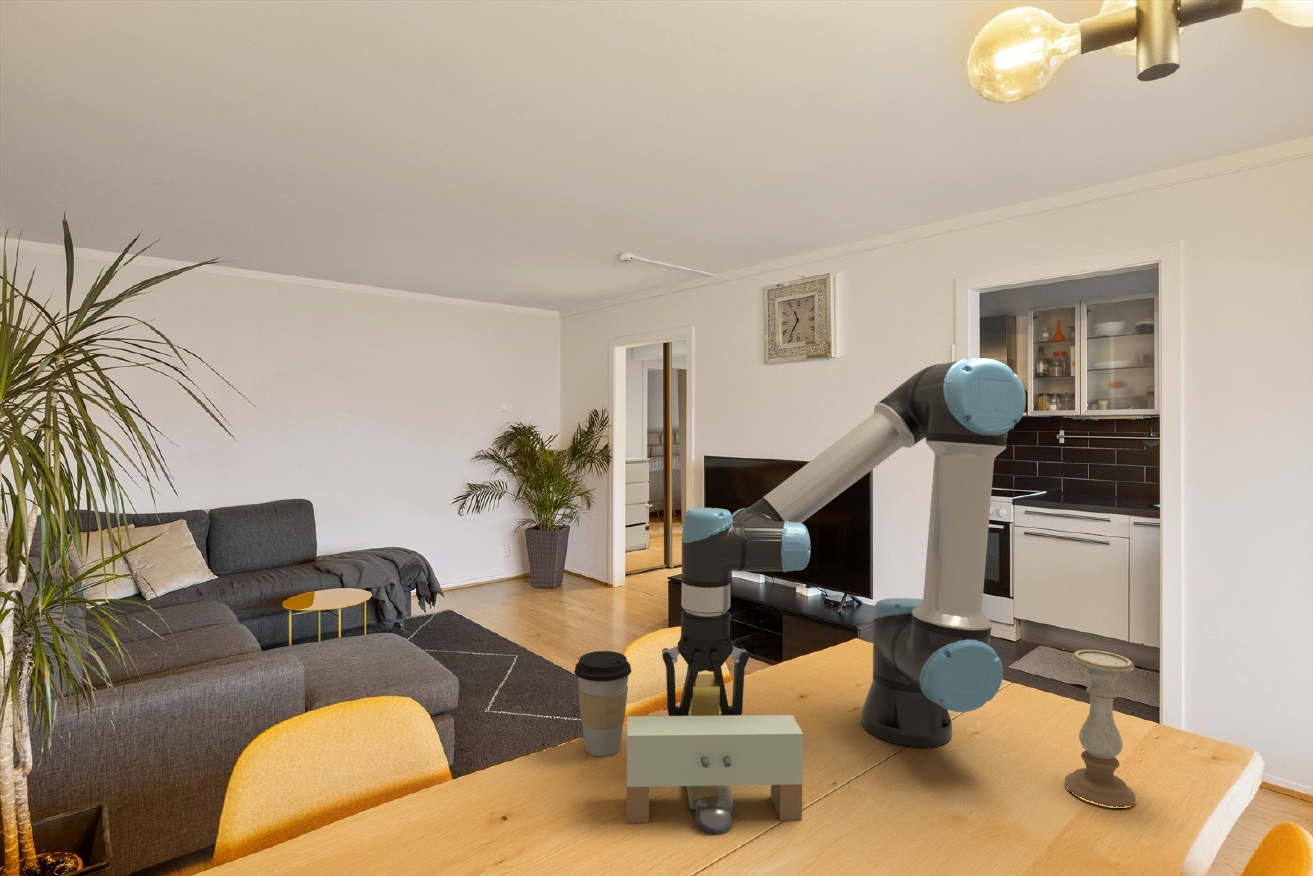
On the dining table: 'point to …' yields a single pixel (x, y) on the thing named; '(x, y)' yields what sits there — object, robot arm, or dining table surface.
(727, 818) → the dark grey metallic disc
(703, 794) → the blade tool
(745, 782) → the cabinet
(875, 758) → the dining table surface
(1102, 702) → the candle holder
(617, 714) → the coffee cup
